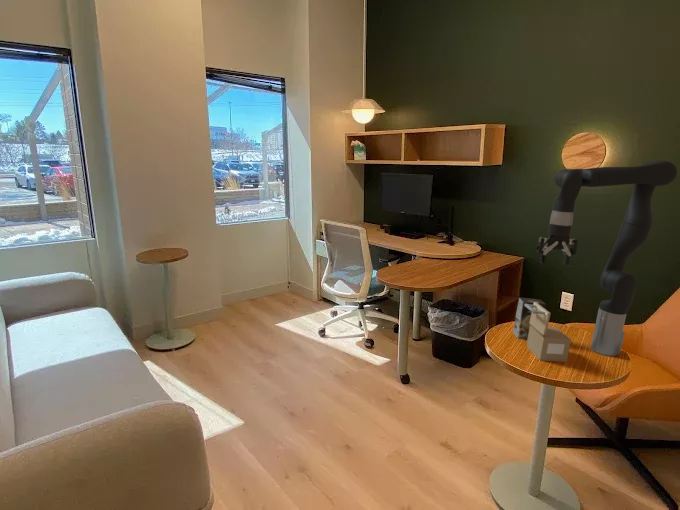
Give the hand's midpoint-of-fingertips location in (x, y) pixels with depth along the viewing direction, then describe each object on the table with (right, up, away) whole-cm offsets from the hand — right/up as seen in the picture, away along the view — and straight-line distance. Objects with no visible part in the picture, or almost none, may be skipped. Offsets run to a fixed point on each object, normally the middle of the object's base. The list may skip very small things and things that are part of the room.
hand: (553, 264), depth 161 cm
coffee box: (-4, -31, +16) cm, 35 cm away
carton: (-3, -35, 0) cm, 35 cm away
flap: (-6, -21, -3) cm, 22 cm away
